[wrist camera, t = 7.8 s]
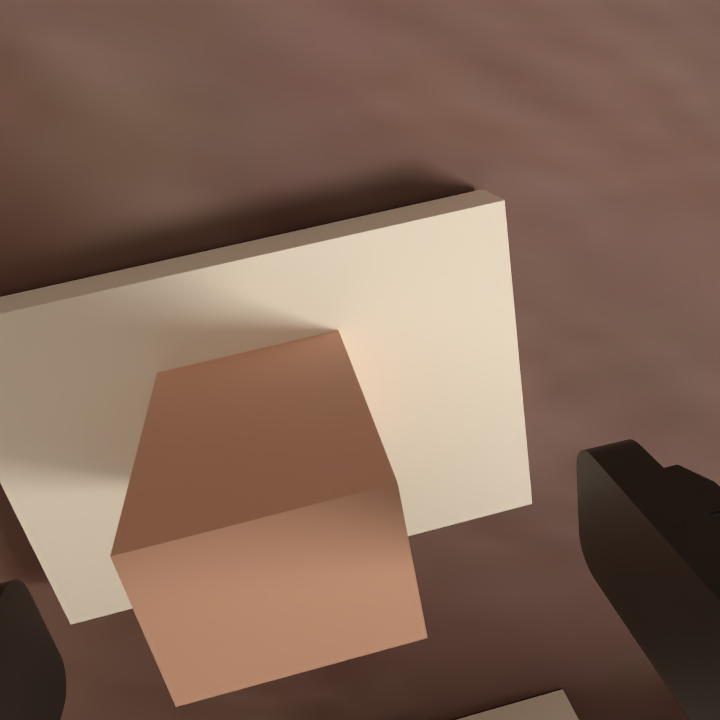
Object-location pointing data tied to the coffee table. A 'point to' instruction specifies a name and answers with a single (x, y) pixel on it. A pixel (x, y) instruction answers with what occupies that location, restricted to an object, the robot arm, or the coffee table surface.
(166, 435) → the block on cream base
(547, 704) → the board
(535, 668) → the coffee table surface
